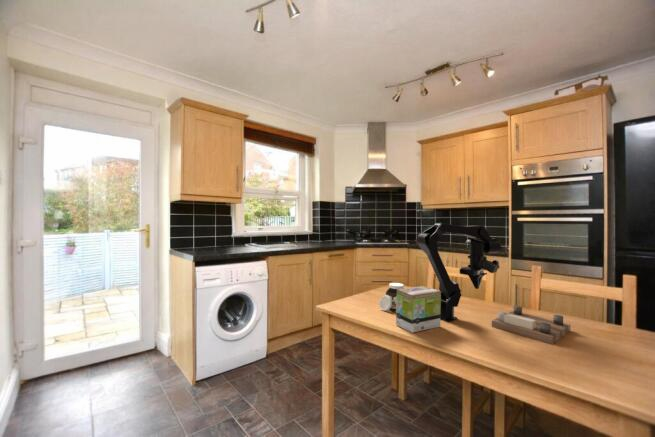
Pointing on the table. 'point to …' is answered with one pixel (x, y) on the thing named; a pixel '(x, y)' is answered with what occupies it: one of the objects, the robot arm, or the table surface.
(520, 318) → the white rectangular block
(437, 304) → the tea box
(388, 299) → the spread jar
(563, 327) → the slatted wooden base
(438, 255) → the robot arm
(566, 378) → the table surface
